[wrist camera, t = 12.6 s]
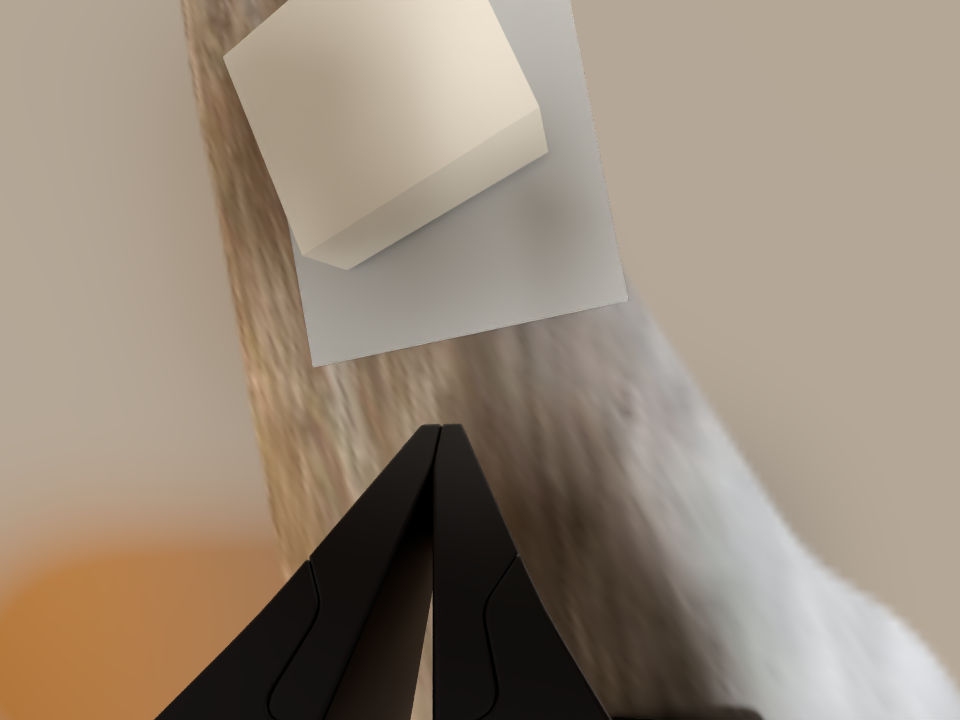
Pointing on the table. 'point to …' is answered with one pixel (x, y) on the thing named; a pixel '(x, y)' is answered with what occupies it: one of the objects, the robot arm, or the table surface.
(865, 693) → the table surface
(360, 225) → the cream block
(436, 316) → the mat
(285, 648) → the robot arm
